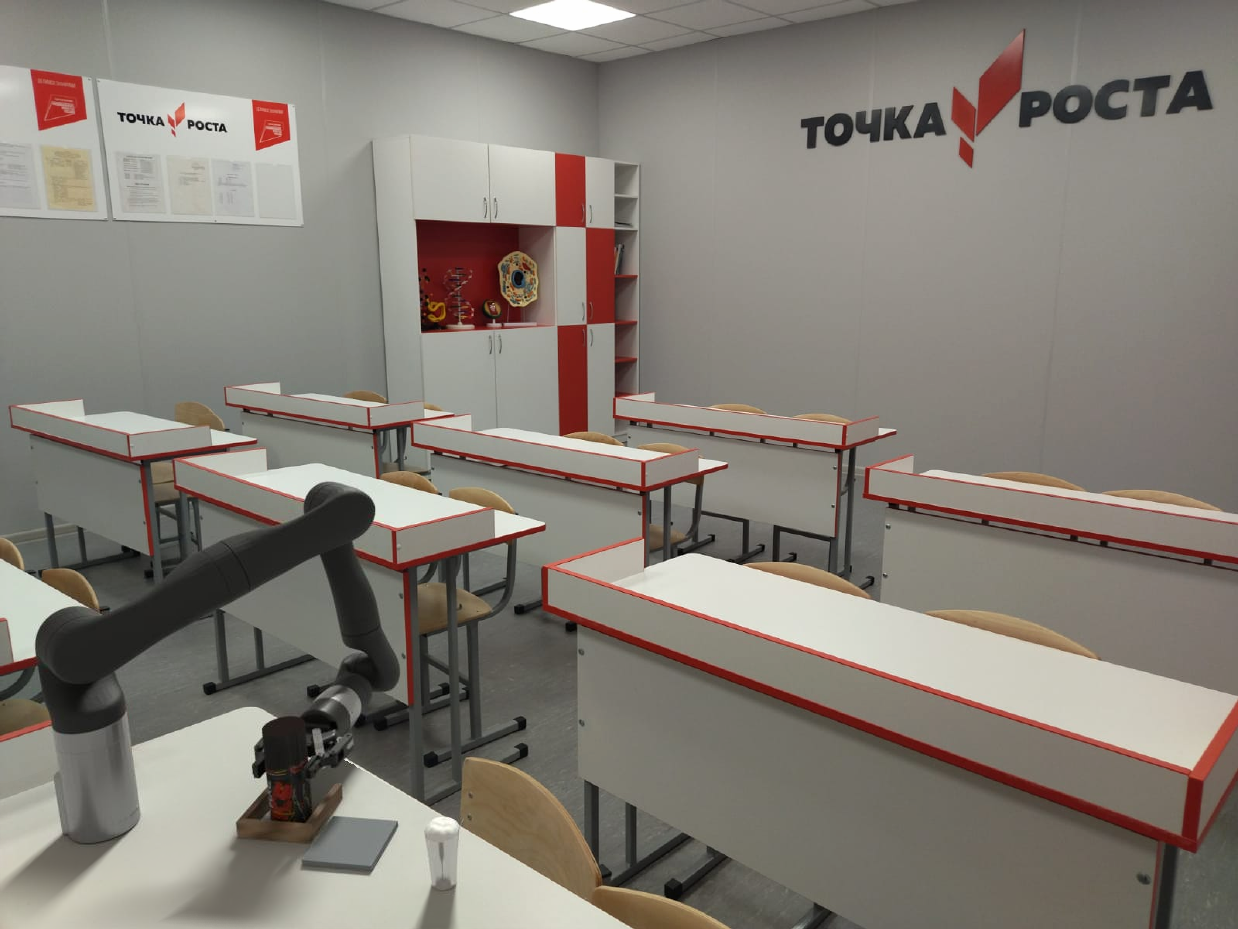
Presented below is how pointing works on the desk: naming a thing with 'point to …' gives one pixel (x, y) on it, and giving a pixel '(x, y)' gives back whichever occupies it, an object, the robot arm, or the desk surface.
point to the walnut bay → (286, 831)
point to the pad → (350, 843)
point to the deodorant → (287, 769)
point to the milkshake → (442, 851)
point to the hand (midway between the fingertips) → (279, 774)
